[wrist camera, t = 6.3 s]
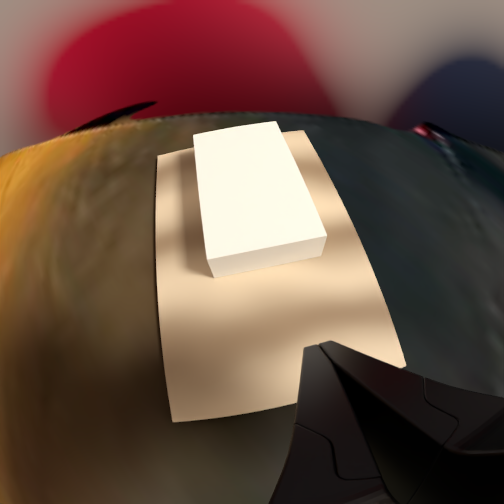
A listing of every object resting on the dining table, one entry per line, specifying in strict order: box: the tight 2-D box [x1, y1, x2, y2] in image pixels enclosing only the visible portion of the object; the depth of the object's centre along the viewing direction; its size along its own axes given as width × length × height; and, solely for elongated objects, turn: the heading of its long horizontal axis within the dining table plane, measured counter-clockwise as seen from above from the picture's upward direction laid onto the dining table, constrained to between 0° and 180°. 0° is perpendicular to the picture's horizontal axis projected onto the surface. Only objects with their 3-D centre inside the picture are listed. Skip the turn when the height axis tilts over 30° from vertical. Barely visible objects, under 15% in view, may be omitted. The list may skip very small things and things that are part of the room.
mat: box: [156, 130, 406, 422], centre depth 19 cm, size 22×14×1 cm, turn 11°
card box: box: [193, 121, 327, 278], centre depth 20 cm, size 2×7×12 cm
